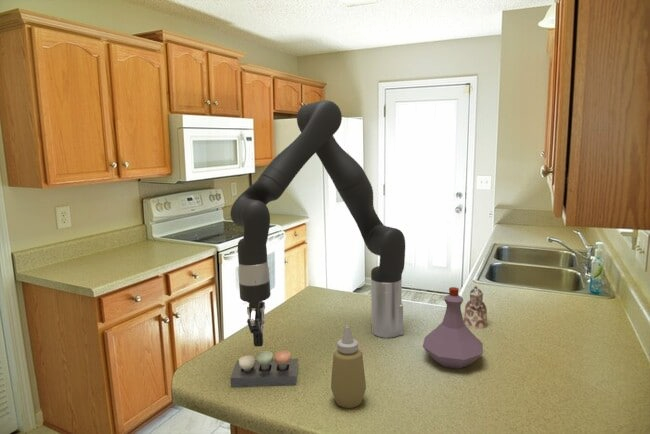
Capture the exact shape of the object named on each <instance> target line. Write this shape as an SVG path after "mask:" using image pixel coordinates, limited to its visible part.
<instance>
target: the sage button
mask: <svg viewBox="0 0 650 434" xmlns="http://www.w3.org/2000/svg"><path fill="white" fill-rule="evenodd" d="M273 354H274V353H273V352H271V351H269V350H263V351H260V352H258V353H257V354H256V360H257V363H259V364H261V371H269V370H270V365H269V363H271V362H272V361H273V359H274V356H273Z"/></svg>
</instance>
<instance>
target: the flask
mask: <svg viewBox="0 0 650 434" xmlns="http://www.w3.org/2000/svg"><path fill="white" fill-rule="evenodd" d="M459 290H460V288H459V287H455V286H451V287H449V288H448V291H449V294H447V295H444V297H443V298H444V302H445V304H446V307H445V308H446V310H445V313H444V316H443V319H442V321H441V323H440V324H438V326H436V328H434V329H433V330H432V331H430V333H428V334H427V335H426V336H425V337H424V340H423V343H422V348H423V350H425V351H426V352H427V354H428V355H429V356H430V357H431V358H432V360H434V361H435V362H437V363H438V364H439V365H441V366H442V367H444V368H451V369H458V370H459V369H462V368H465V367H468V366H470V365H471V364H473V363H474V362H475V361H476V360H478V359H479V358H480V357H481V356H482V355H483V354H484V347H483V344H484V343H483V342H482V341H481V340H480V339H479V338H478V337H477V336H476V335H475V334H473V332H472V331H471V330H470V329H469V327H468V326H466V325H465V324H464V316H463V313H462V308H461V305H462V304H463V302H464V298H463V297H462V296H460V295H459Z"/></svg>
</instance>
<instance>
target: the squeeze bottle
mask: <svg viewBox="0 0 650 434" xmlns="http://www.w3.org/2000/svg"><path fill="white" fill-rule="evenodd" d="M336 345H337V346H336V348H337V349H336V350H334V352H333V358H332V367H331V368H332V371H331V381H330V389H331V392H332V394H333V398H334V400H335V402H336V404H337V405H338V406H340V407H341V408H346V409H351V408H356V407H358V406H360V405H361V403H362V402H363V399H364V395H365V393H366V389H367V382H366V374H365V365H364V357H363V352H362V351H361V349H359V342H358V340H356V339H355V338H353V334H352V330H351V326H350V325H345V326H344V329H343V335H342V338H341V339H339V340H337V344H336Z"/></svg>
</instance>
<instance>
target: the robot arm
mask: <svg viewBox="0 0 650 434" xmlns="http://www.w3.org/2000/svg"><path fill="white" fill-rule="evenodd" d="M342 115H343V114H342V111H341V109H340V107H339V105H338V104H336V102H334V101H331V100H327V99H326V100H324V99H323V100H319V101H314V102H310V103H307V104H304V105H302V106H301V107H300V108H299V109H298V111H297V114H296V123H297V126H298V128H299V129H298V130H299V131H300V134H299V135H298V136H297V137H296V138H295V139H294V140H293V141H292V142H290V144H289V145H287V147H285V148H284V149H283V150H282V151H281V152H279V154H278V155H276V156H275V157H274V158H272V160H271V161H270V163H269V164H267V165H266V168H265V169H264V170H263V171H262V172H261V174H260V175H259V176H258V178H257V180H255V181H254V183H252V184H251V185H250V186H249V187H247V189H245V190H244V191H243V192H242V193H241V194H240V195H239V196H238V197H237V198H236V199H235V201H234V202H233V203H232V205H231V208H230V211H229V213H230V218H231V221H232V222H233V224H235V225H236V226H239V227H243V237H242V238H241V239H240V240H238V242H237V260H238V268H237V269H238V270H237V271H238V272H237V273H238V274H237V275H238V286H239V289H238V290H239V298H240V300H241V301H243V302H245V303H246V302H247V303H248V306H247V308H246V313H247V315H248V318H247V320H246V323H247V326H248V329H249V332H250V334H252V336H253V338H252V339H253V346H254V347H262V346H263V345H264V328H265V327H264V325H265V319H266V316H265V315H266V314H265V310H266V309H265V308H266V303H265V301H267V299H270V297H271V294H272V293H271V280H270V267H269V264H268V263H269V262H268V251H267V250H268V249H267V242H268V237H269V233H270V232H269V231H270V225H271V215H270V210H269V208H268V206H267V204H269V203H270V202H275V201H276V200H278V199H280V198H281V196H282V195H283V194H284V193H285V191H286V190H287V189H288V187H289V185H290V184H291V183H292V182H293V181H294V179H295V177H296V176H297V175H298V173H299V172H300V171H301V169H303V167H304V166H305V165H306V164H307V163H308V161H309V160H310V159H311V158H312V157H313V156H314V155H315V154H316V156H317V157H318V159H319V160H320V162H321V164H322V165H323V167H324V170H325V171H326V173H327V174H328V176H329V178H330V180H331V181H332V183H333V184H334V187H335V190H336V191H337V192H338V194H339V196H340V198H341V199H342V201H343V202H344V204H345V205H346V209H347V210H348V212H349V213H350V215H351V216H352V218H353V220H354V222H355V223H356V226H357V228H358V229H359V232H360V235H361V237H362V240H363V242H364V244H365V246H366V248H367V250H368V251H370V253H372V254H374V255H376V256H379V266H378V265H377V266H375V267H372V269H371V270H370V271H371V272H370V285H371V286H370V292H371V293H370V295H371V296H370V297H371V299H370V300H371V302H370V303H371V305H370V306H371V324H370V325H371V326H370V327H371V333H372V334H373V335H374V336H376V337H379V338H385V339H387V338H388V339H389V338H396V337H399V336H403V335H404V305H403V303H402V302H403V301H402V298H403V297H402V289H403V288H402V287H403V286H402V284H403V283H402V281H403V280H402V277H403V276H402V275H403V273H404V270H405V263H406V262H405V259H406V239H405V234H404V233H403V231H402V230H401V229H398V228H396V227H392V226H387V225H385V224H384V223H383V222H382V221H381V219H380V218H379V216H378V214H377V212H376V210H375V207H374V190H373V186H372V183H371V182H370V180H369V178H368V176H367V174H366V172H365V170H364V169H363V167H362V165H360V164H359V162H357V160H356V159H354V158H353V157H352V156H351V154H349V153H348V152H346V150H344V149H343V148H342V146H341V145H340V144H339V143H338V142H337V140H336V138H335V136H334V135H335V134H336V133H337V132H338V131H339V129H340V127H341V126H342V125H341V124H342V121H343V116H342Z"/></svg>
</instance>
